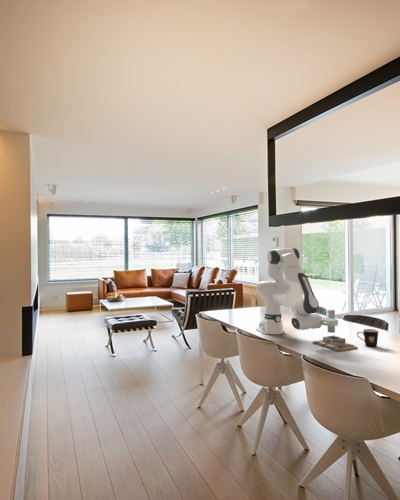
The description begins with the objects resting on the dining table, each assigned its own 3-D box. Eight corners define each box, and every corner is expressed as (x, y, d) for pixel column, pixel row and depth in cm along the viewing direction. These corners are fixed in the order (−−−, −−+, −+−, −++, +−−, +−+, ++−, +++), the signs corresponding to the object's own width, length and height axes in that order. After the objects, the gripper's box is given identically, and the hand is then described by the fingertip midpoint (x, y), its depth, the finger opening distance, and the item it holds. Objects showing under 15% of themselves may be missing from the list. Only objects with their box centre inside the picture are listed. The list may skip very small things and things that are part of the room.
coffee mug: (380, 346, 215) (380, 330, 215) (375, 348, 209) (375, 332, 209) (361, 342, 223) (361, 327, 223) (356, 345, 217) (356, 329, 217)
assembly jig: (312, 343, 223) (312, 335, 223) (330, 340, 229) (330, 332, 230) (338, 352, 203) (337, 343, 203) (357, 348, 209) (357, 340, 209)
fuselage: (326, 331, 217) (325, 309, 217) (331, 330, 219) (331, 309, 219) (331, 333, 213) (330, 310, 213) (336, 332, 215) (336, 310, 215)
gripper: (327, 318, 202) (344, 317, 207) (304, 313, 220) (320, 311, 226) (327, 329, 201) (345, 327, 207) (304, 323, 220) (321, 321, 226)
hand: (332, 319), depth 216 cm, fingers closed on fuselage, 4 cm apart
